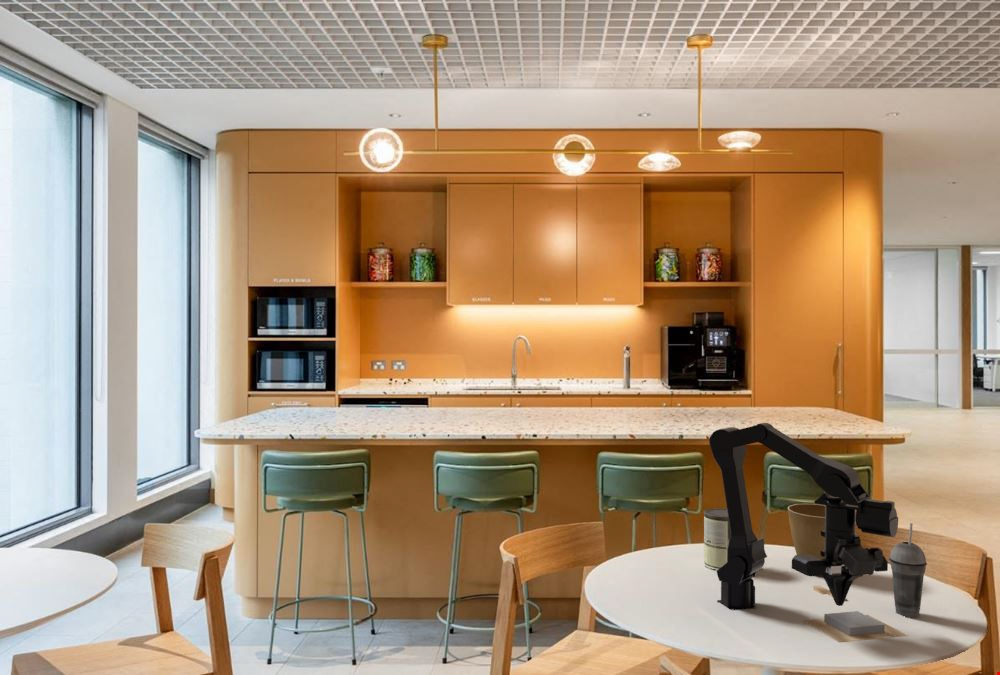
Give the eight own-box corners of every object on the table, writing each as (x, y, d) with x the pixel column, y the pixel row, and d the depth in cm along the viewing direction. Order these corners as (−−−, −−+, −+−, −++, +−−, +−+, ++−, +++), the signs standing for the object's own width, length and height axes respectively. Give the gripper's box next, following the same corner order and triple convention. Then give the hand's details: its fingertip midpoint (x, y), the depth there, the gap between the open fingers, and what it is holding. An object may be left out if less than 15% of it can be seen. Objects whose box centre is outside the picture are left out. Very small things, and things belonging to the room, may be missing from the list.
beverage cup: (914, 608, 176) (915, 518, 176) (933, 620, 168) (934, 526, 168) (882, 608, 175) (883, 518, 175) (899, 620, 168) (900, 526, 168)
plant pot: (776, 571, 203) (776, 509, 202) (804, 560, 213) (804, 501, 212) (833, 585, 192) (834, 519, 191) (860, 573, 202) (860, 510, 201)
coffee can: (710, 558, 214) (710, 506, 214) (748, 564, 208) (749, 511, 208) (697, 567, 205) (698, 513, 205) (737, 574, 200) (738, 518, 200)
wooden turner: (872, 612, 173) (872, 607, 173) (852, 613, 172) (852, 609, 172) (825, 589, 189) (825, 585, 189) (807, 590, 188) (807, 586, 188)
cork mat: (838, 645, 154) (838, 642, 154) (801, 623, 166) (801, 620, 166) (908, 638, 158) (908, 635, 158) (867, 617, 170) (867, 614, 170)
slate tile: (849, 627, 157) (884, 624, 159) (824, 613, 165) (857, 611, 167) (849, 636, 157) (884, 633, 159) (824, 622, 165) (857, 619, 167)
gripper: (825, 541, 151) (824, 622, 151) (908, 536, 155) (907, 615, 155) (790, 527, 162) (789, 603, 162) (869, 522, 166) (868, 597, 166)
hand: (839, 605), depth 161 cm, fingers closed
